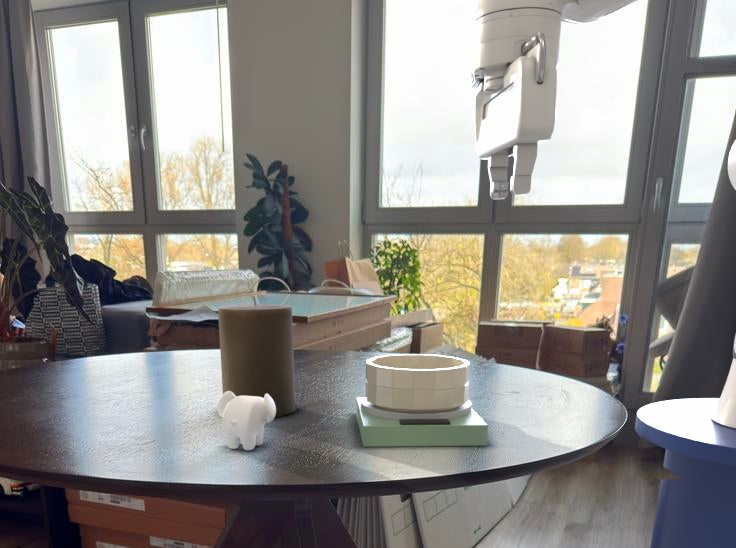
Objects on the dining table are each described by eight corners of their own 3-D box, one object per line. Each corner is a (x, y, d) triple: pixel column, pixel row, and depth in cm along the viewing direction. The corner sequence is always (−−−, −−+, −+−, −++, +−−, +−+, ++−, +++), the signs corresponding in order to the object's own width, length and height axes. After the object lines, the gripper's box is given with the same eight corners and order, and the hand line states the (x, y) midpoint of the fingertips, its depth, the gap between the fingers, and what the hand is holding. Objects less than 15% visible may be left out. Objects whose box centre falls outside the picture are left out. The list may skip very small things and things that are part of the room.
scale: (460, 414, 97) (461, 390, 95) (486, 445, 82) (488, 418, 80) (356, 414, 96) (356, 390, 95) (363, 446, 81) (363, 418, 80)
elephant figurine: (289, 439, 84) (288, 388, 82) (259, 457, 77) (256, 402, 75) (237, 434, 86) (234, 384, 84) (203, 451, 79) (199, 397, 77)
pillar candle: (279, 421, 93) (274, 299, 87) (210, 415, 95) (202, 297, 90) (306, 405, 101) (303, 294, 96) (242, 401, 104) (236, 292, 99)
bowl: (456, 392, 94) (458, 353, 92) (476, 413, 82) (479, 369, 81) (362, 393, 93) (363, 354, 92) (369, 414, 82) (370, 370, 80)
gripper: (579, 25, 66) (567, 190, 71) (520, 73, 85) (513, 200, 90) (511, 26, 66) (503, 192, 71) (467, 74, 85) (463, 201, 90)
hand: (508, 196), depth 81 cm, fingers open, 8 cm apart
